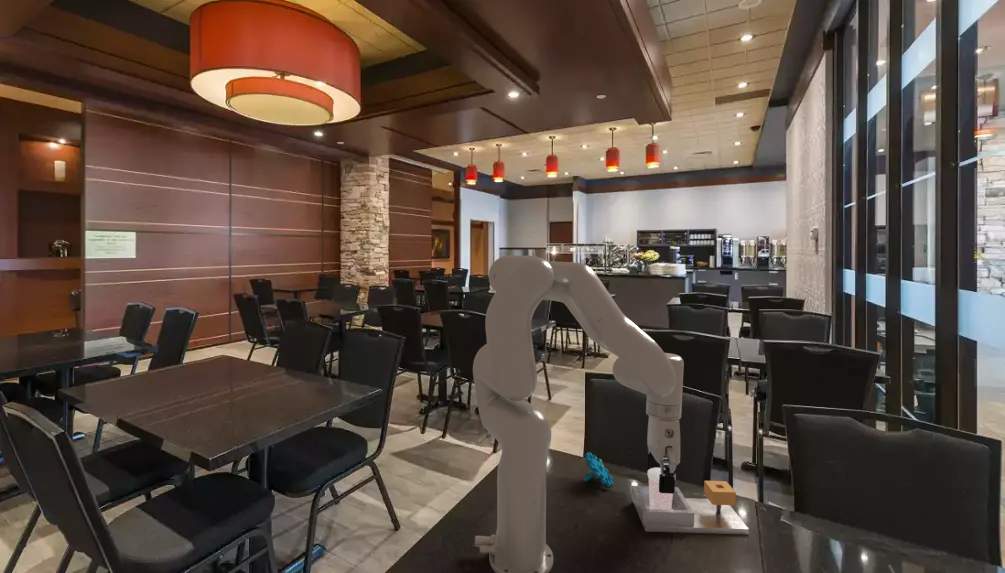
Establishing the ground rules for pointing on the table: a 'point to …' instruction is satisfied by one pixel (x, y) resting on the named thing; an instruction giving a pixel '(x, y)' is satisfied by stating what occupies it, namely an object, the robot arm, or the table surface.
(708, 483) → the amber wooden brick
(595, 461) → the blue lobed piece
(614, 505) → the table surface
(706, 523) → the gray tray
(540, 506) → the robot arm
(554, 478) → the table surface
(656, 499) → the beverage cup
